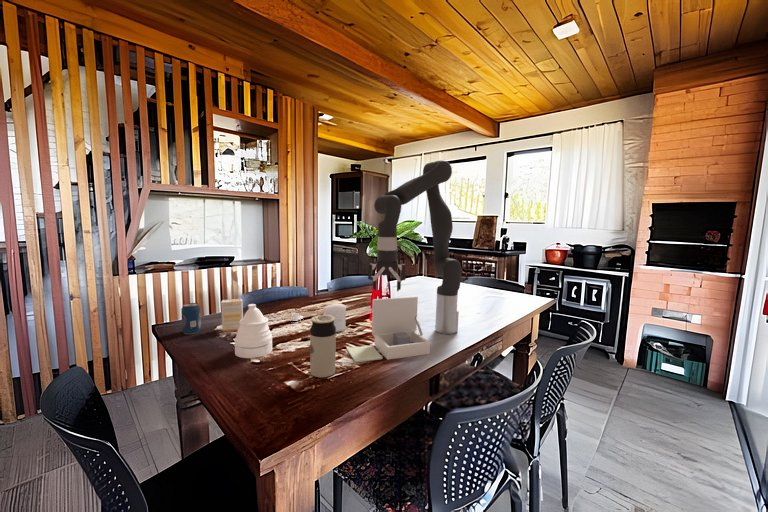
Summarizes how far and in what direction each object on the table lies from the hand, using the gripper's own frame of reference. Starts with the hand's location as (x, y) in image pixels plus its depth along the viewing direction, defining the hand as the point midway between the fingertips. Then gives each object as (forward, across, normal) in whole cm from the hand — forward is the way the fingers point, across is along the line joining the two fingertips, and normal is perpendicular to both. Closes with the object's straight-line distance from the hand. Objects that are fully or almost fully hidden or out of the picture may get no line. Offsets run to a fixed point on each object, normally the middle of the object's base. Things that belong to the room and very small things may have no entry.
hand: (386, 290), depth 127 cm
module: (+23, -6, +2) cm, 23 cm away
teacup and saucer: (+23, +42, -28) cm, 55 cm away
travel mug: (+22, +19, +24) cm, 38 cm away
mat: (+22, +8, +8) cm, 25 cm away
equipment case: (+22, -6, +2) cm, 23 cm away
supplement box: (+22, +68, -12) cm, 73 cm away
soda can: (+21, +83, -7) cm, 86 cm away
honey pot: (+22, +49, +10) cm, 54 cm away
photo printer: (+22, +24, -16) cm, 36 cm away
